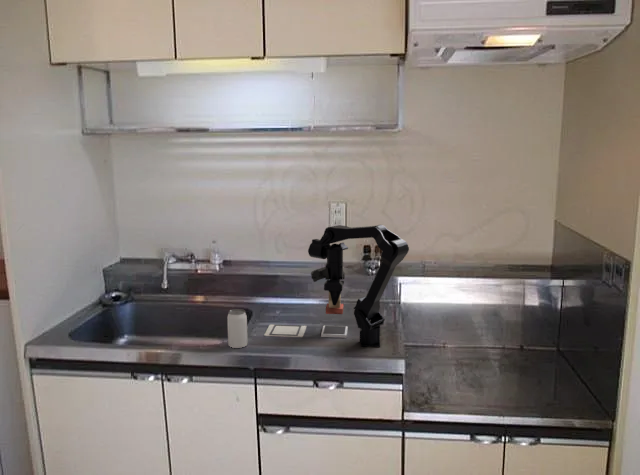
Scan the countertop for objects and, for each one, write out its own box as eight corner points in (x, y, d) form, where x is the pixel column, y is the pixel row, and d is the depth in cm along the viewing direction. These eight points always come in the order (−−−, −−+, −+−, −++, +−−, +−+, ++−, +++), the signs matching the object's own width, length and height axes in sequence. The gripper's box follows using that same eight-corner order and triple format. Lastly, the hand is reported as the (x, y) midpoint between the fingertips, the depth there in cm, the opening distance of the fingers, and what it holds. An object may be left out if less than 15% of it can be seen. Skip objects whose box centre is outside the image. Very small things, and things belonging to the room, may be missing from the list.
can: (249, 342, 178) (248, 308, 176) (245, 349, 172) (243, 315, 170) (231, 341, 179) (230, 308, 177) (226, 348, 172) (224, 314, 170)
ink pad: (347, 328, 191) (347, 325, 191) (346, 337, 182) (346, 334, 182) (323, 328, 192) (323, 324, 191) (321, 336, 183) (321, 333, 183)
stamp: (343, 309, 188) (343, 284, 186) (342, 314, 182) (342, 289, 180) (327, 308, 189) (327, 284, 187) (325, 313, 183) (325, 288, 181)
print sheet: (306, 326, 193) (306, 325, 193) (302, 337, 183) (302, 335, 182) (269, 325, 195) (269, 324, 195) (263, 335, 184) (263, 334, 184)
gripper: (315, 255, 192) (315, 295, 195) (309, 266, 174) (309, 310, 176) (345, 255, 191) (344, 296, 194) (342, 267, 173) (341, 311, 175)
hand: (334, 303), depth 185 cm, fingers closed on stamp, 4 cm apart
